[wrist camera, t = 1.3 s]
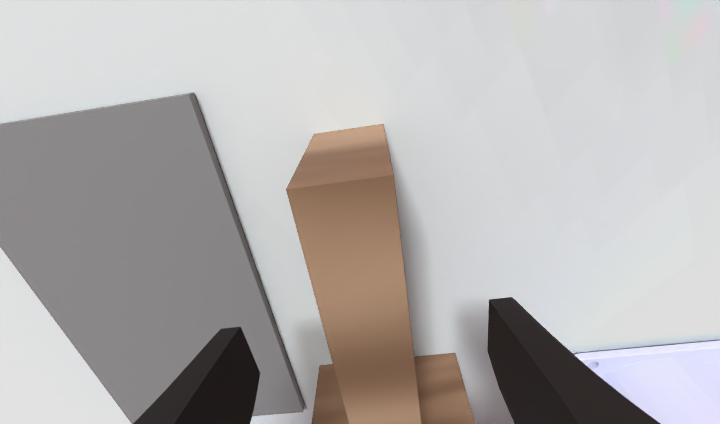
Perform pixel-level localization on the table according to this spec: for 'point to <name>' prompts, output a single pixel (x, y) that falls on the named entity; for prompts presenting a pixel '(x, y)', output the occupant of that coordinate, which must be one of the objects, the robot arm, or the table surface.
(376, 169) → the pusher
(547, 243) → the table surface
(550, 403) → the robot arm
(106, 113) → the mat
